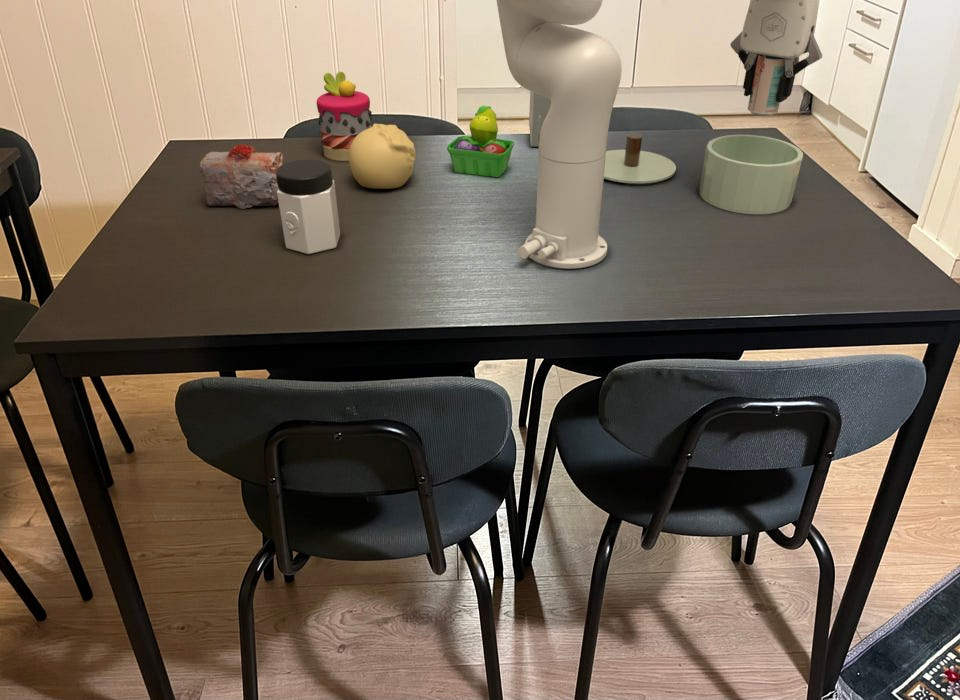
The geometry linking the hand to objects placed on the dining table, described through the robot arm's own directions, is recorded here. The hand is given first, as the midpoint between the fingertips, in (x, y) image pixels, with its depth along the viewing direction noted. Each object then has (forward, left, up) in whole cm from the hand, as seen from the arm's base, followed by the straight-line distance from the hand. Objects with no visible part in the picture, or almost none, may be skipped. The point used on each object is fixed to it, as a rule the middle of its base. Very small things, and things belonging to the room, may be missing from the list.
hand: (765, 96), depth 124 cm
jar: (-61, +44, -18) cm, 77 cm away
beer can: (0, 0, -3) cm, 3 cm away
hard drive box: (+4, +46, -18) cm, 49 cm away
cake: (-30, +71, -18) cm, 79 cm away
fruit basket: (-20, +44, -18) cm, 51 cm away
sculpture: (-37, +53, -18) cm, 67 cm away
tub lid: (-2, +22, -17) cm, 28 cm away
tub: (0, 0, -17) cm, 17 cm away
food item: (-58, +65, -18) cm, 89 cm away
